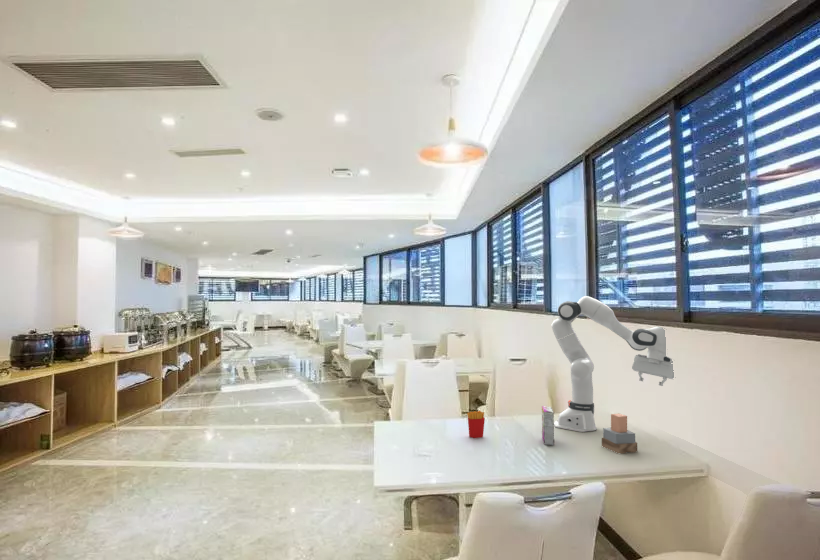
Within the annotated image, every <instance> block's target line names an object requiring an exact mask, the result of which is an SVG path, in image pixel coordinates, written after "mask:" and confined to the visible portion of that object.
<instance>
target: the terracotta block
mask: <svg viewBox="0 0 820 560" xmlns="http://www.w3.org/2000/svg"><path fill="white" fill-rule="evenodd" d="M610 428H611V430H613V431H616V432H619V433H622V432H627V430H628V416H627V415H625V414H621V413H611V414H610Z"/></svg>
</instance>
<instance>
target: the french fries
mask: <svg viewBox="0 0 820 560" xmlns="http://www.w3.org/2000/svg"><path fill="white" fill-rule="evenodd" d="M466 414H467V424H468V425H467V427H468V434H469V438H471V439H480V438H483V437H484V429H485V411H481V410H479V411H476V410H475V411H470V412H468V411H467V412H466Z"/></svg>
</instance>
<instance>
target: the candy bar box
mask: <svg viewBox="0 0 820 560" xmlns="http://www.w3.org/2000/svg"><path fill="white" fill-rule="evenodd" d="M554 417H555V416H554V410H553V407H552V406H547V405H546V406H545V405H542V406H541V427H542V428H541V430H542V431H541V434H542V435H541V437H542V441H543V444H544V445H545V446H554V445H555V429H554V428H555V426H554V422H555V421H554V419H555V418H554Z"/></svg>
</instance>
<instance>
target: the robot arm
mask: <svg viewBox="0 0 820 560" xmlns="http://www.w3.org/2000/svg"><path fill="white" fill-rule="evenodd" d="M557 314H558V318H556V319H554V320H553V321H552V323H551V329H552V332H553V335H554V336H555V339H556V341H557V343H558V345H559V347H560V349H561V350H562V353H563V354H564V355H565V357H566V358H567V360H568V361H569V363H570V379H571V399H572V400H570V399H569V400H568V401H567V403H568V407H567V408H566V409H565V410H563V411H561V412H560V413H559V414H558V416H557V417H558V418H557V420H555V421H554V428H558V429H564V430H570V431H575V432H580V433H584V432H592V431H593V432H594V431H596V430H597V426H596V422H595V403H594V385H593V372H594V369H595V366H594V363H593V360H592V359H591V357H590V356H589V354H588V352H587V351H586V349H585V348H584V346H583V345H582V343H581V341H580V340H579V337H578V335H577V334H576V331H575V330H574V328H573V326H572V323H573V322H574V321H575V320H576V319H577V318H579V316H580V315H581V316H585V317H587V318H589V319H591V320H592V321H594V322H595V323H597V324H599V325H601V326H603V327H605V328H607V329H609V330H611V331H612V332H613V333H614V334H616V335H617V336H619V337H620V338H622V339H623V340H624V341H626V342H627V344H628V345H629V346H630V348H631V349H632V350H634V351H637V352H642V351H645V350H647V349H648V350H647V354H646V355H644V354H636V355H635V356H634V359H633V360H634V361H633V363H632V366H631V369H632V370H633V371H634V372H638V376H639V381H640V382H644V380H645V379H644V377H643V376H642V375H643V374H647V375H651V376H655V377H661V378H662V380H661V381H659V382H658V386H661V387H663V386H664V384H665V382H667V380H669V379H670V380H674V379H673V378H674V372H673V371H674V370H673V364H671V363H673V361H672V359H673V358H671V357H669V356H668V355H667V356H666V337H665V330H664V329H665V328H664V327H661V326H654V327H651V328H637V329H636V330H632V329H630V328H628V327H627V326H626V325H624V324H622V323H621V322H620V321H619V320H618V319H617V317H616V314H615V313H614V310H613V309H611V308H610V307H609V306H608V305H606V304H605V303H604V302H602V301H600V300H598V299H596V298H594V297H591V296H588V295H585V296H584V295H583V296H582V297H580V299H578V301H570V300H567V301H564V302H562V303H560V304H559V306H558V307H557ZM663 328H664V329H663Z"/></svg>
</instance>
